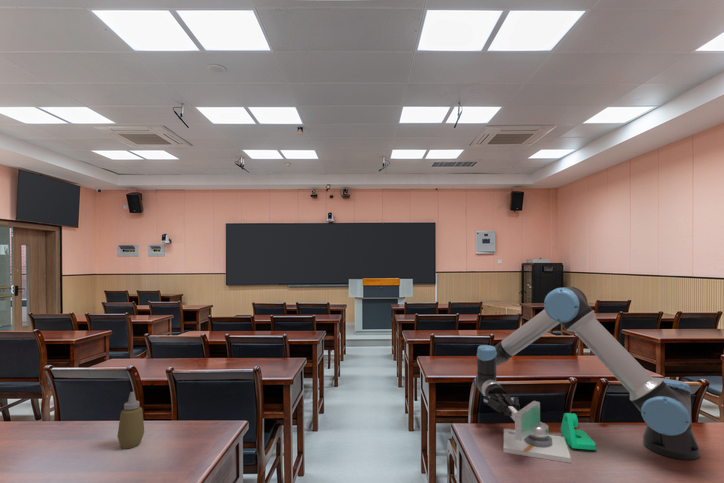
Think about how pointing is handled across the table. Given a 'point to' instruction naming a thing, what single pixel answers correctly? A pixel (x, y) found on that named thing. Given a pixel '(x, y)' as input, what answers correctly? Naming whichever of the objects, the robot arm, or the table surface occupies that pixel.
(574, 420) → the green mounting bracket
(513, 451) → the post base
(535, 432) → the brushed metal plate
